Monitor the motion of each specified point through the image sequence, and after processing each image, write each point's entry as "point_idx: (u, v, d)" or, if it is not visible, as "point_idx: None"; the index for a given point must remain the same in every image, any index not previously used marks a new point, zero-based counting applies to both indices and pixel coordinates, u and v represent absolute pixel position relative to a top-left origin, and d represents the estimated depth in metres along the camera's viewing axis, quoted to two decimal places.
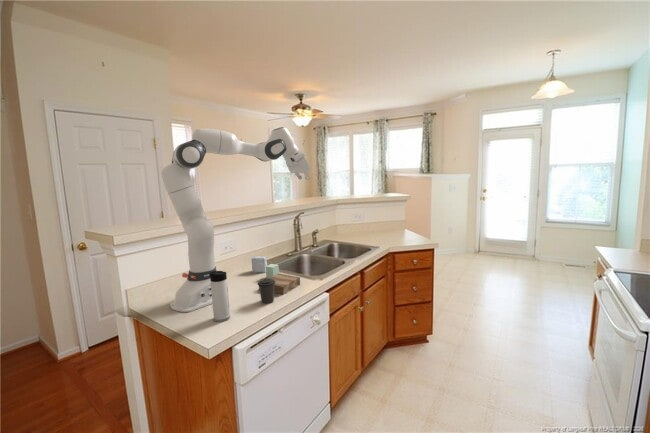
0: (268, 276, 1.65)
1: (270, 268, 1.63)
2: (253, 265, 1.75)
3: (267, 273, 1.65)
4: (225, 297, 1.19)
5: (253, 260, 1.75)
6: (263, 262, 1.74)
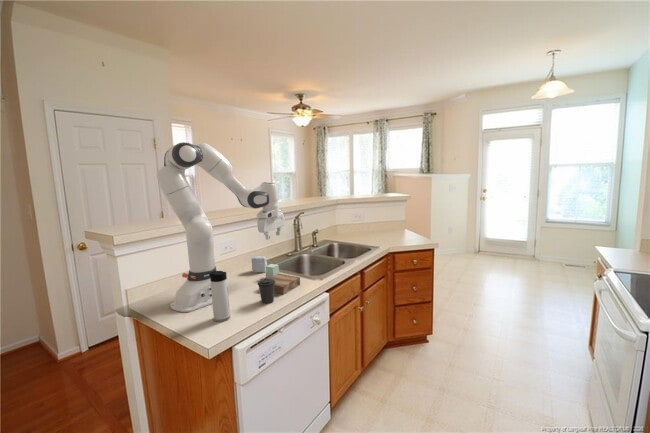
0: (268, 276, 1.65)
1: (270, 268, 1.63)
2: (253, 265, 1.75)
3: (267, 273, 1.65)
4: (225, 297, 1.19)
5: (253, 260, 1.75)
6: (263, 262, 1.74)
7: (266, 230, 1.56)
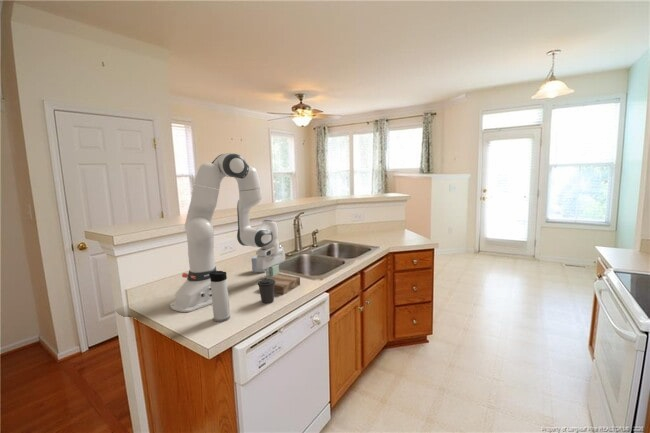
0: (268, 276, 1.65)
1: (270, 268, 1.63)
2: (253, 265, 1.75)
3: None
4: (225, 297, 1.19)
5: (253, 260, 1.75)
6: None
7: (265, 268, 1.58)
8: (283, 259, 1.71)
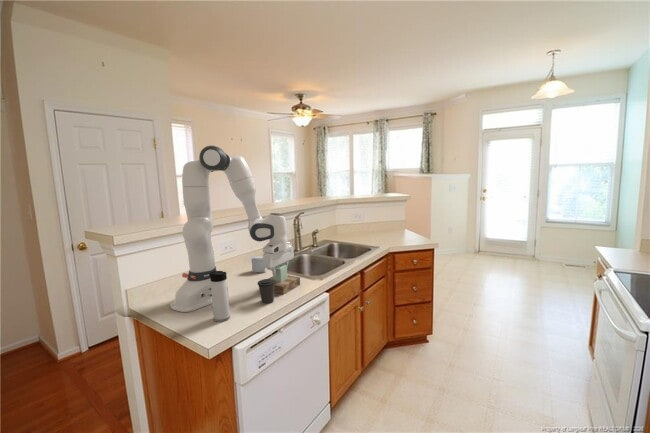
0: (275, 278, 1.50)
1: (278, 269, 1.48)
2: (253, 265, 1.75)
3: (274, 275, 1.50)
4: (225, 297, 1.19)
5: (253, 260, 1.75)
6: None
7: (272, 266, 1.43)
8: (291, 257, 1.56)
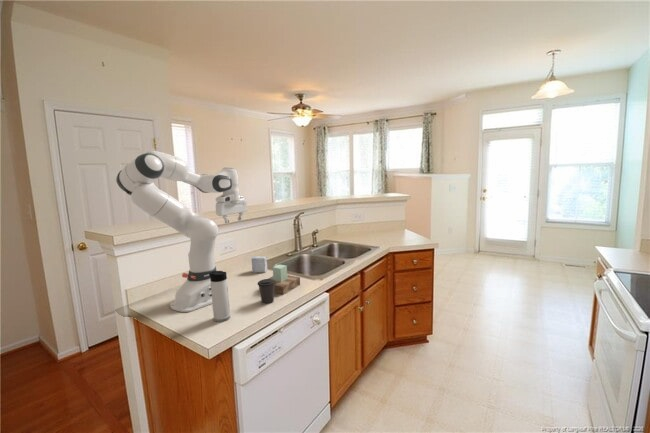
0: (275, 278, 1.50)
1: (278, 269, 1.48)
2: (253, 265, 1.75)
3: (274, 275, 1.50)
4: (225, 297, 1.19)
5: (253, 260, 1.75)
6: (263, 262, 1.74)
7: (224, 214, 1.60)
8: (245, 209, 1.74)
